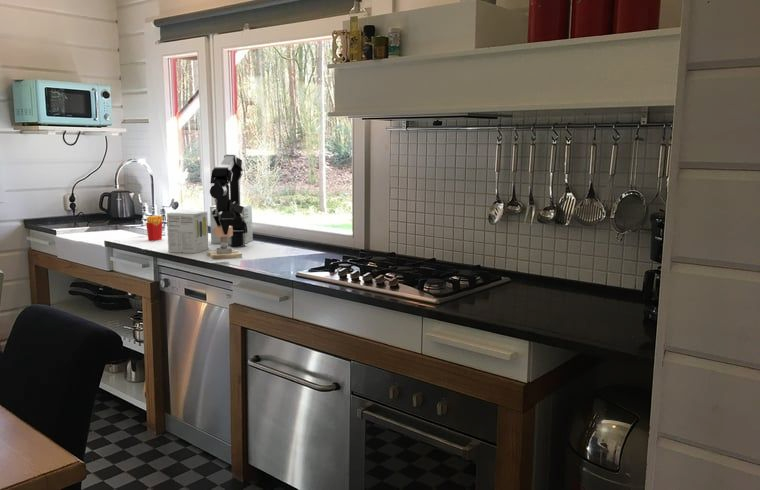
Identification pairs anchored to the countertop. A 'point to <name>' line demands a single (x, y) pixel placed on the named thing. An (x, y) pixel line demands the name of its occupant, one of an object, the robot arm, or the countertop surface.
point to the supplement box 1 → (187, 231)
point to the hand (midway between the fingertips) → (223, 233)
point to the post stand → (224, 251)
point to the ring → (220, 232)
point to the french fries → (154, 228)
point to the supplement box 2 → (246, 237)
